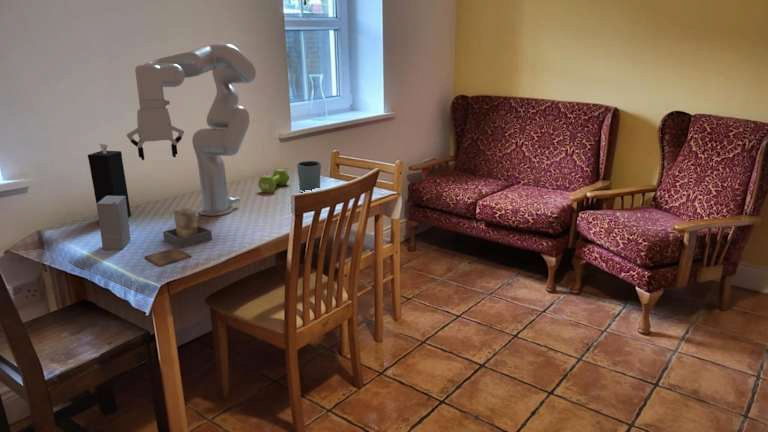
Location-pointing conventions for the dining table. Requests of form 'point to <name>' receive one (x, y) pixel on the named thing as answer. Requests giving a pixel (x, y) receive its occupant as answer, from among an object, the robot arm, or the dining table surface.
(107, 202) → the skincare box
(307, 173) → the grey cup
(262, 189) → the dumbbell
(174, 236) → the bin
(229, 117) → the robot arm
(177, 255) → the walnut board
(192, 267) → the dining table surface
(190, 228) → the beech block
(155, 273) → the dining table surface
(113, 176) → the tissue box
